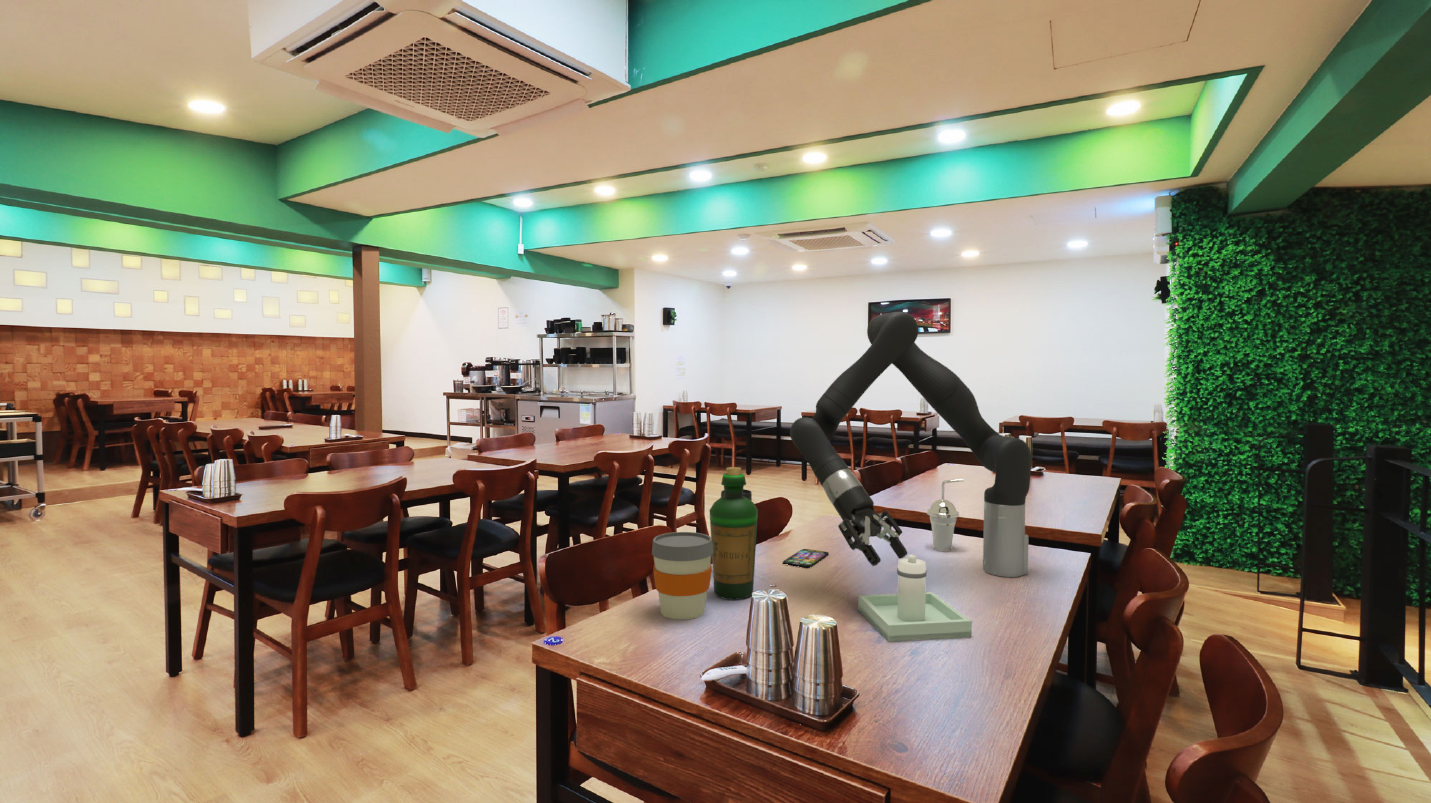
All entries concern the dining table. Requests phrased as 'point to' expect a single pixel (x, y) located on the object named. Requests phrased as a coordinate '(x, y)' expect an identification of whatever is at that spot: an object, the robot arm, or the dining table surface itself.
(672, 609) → the reusable coffee cup
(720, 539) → the bottle
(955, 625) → the pale green rectangular tray
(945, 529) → the cup with straw
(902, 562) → the white capped canister
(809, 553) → the smartphone
